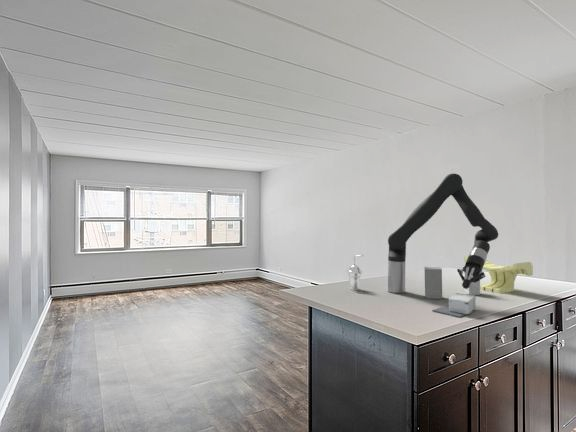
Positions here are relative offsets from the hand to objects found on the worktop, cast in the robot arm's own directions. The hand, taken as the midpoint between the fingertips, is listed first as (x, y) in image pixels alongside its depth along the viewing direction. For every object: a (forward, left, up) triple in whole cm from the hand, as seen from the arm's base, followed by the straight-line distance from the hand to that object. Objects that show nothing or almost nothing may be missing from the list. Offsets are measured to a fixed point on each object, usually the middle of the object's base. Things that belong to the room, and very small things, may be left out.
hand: (464, 287), depth 161 cm
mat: (-6, -9, -9) cm, 14 cm away
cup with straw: (-53, +24, -10) cm, 59 cm away
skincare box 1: (-12, +16, -10) cm, 22 cm away
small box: (+10, +33, -10) cm, 36 cm away
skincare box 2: (+1, 0, -6) cm, 6 cm away
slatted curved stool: (+26, +48, -10) cm, 55 cm away
